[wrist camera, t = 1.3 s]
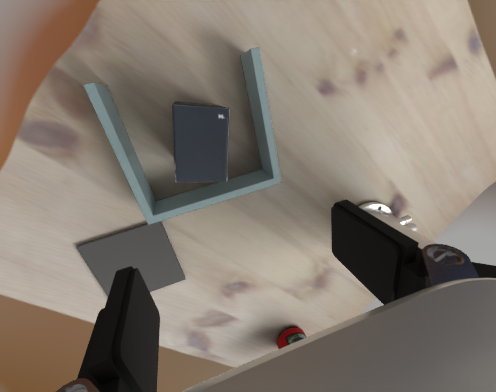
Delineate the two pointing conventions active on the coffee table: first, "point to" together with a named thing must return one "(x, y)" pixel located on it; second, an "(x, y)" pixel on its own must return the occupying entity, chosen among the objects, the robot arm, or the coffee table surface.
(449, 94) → the coffee table surface
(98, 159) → the coffee table surface
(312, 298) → the coffee table surface
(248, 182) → the cubby
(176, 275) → the mat
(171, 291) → the coffee table surface
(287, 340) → the beverage can
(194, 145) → the box
